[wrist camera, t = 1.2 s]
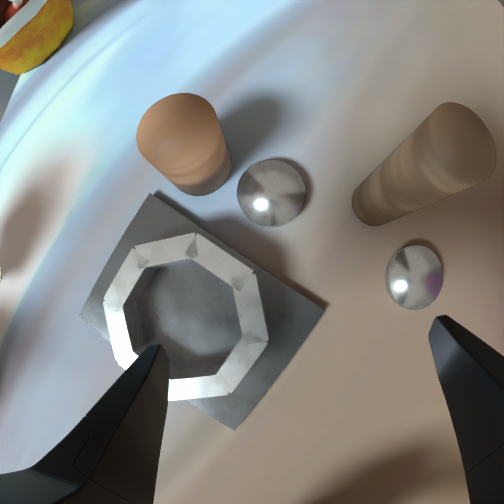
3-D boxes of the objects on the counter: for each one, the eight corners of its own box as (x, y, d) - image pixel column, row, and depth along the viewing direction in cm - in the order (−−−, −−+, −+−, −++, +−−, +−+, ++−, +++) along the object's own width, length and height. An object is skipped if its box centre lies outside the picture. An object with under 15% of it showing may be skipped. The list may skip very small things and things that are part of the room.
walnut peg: (400, 198, 22) (502, 139, 9) (380, 235, 22) (484, 199, 9) (365, 172, 23) (444, 87, 10) (343, 208, 23) (419, 143, 10)
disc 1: (315, 187, 23) (318, 182, 22) (280, 240, 23) (281, 238, 22) (261, 153, 24) (261, 148, 22) (226, 205, 23) (223, 201, 22)
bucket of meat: (73, 73, 25) (-29, -30, 5) (-13, 115, 26) (-106, 61, 6) (107, -20, 26) (58, -105, 7) (25, 19, 27) (-33, -41, 7)
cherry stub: (244, 156, 23) (234, 113, 16) (207, 208, 23) (182, 182, 16) (194, 127, 24) (170, 82, 17) (158, 176, 24) (121, 144, 17)
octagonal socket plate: (323, 309, 22) (331, 314, 19) (235, 427, 22) (230, 445, 19) (152, 194, 23) (137, 184, 20) (83, 314, 23) (62, 318, 20)
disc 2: (444, 267, 22) (451, 267, 21) (416, 319, 22) (423, 321, 21) (403, 234, 23) (409, 232, 21) (372, 287, 22) (377, 288, 21)
